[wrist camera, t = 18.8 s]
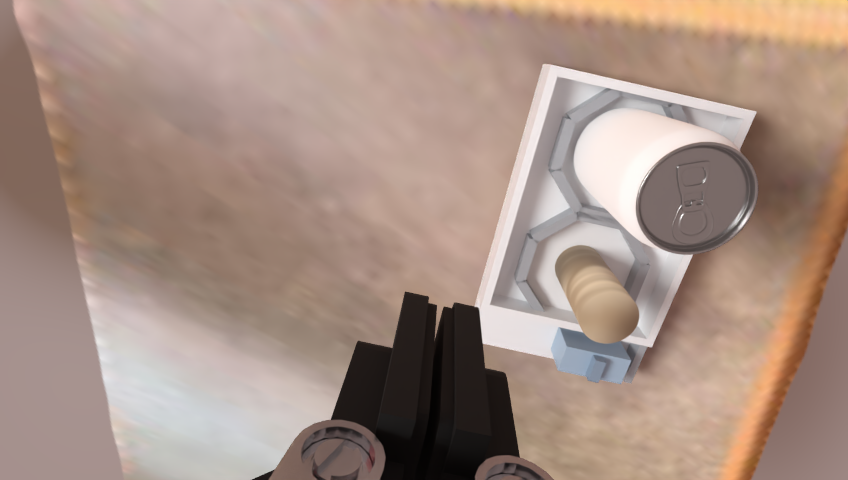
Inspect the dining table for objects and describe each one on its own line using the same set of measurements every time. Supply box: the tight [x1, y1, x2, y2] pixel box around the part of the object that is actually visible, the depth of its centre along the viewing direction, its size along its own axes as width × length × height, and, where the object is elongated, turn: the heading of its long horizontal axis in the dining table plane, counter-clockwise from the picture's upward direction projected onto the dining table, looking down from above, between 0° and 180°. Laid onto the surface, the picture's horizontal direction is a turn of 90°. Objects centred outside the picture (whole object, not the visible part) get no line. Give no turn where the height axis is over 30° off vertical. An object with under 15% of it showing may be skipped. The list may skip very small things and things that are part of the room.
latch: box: [551, 327, 631, 384], centre depth 38 cm, size 2×5×4 cm, turn 78°
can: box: [574, 108, 758, 255], centre depth 29 cm, size 6×6×12 cm
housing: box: [474, 64, 756, 383], centre depth 37 cm, size 22×14×3 cm, turn 168°
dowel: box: [555, 245, 639, 344], centre depth 34 cm, size 4×4×8 cm
